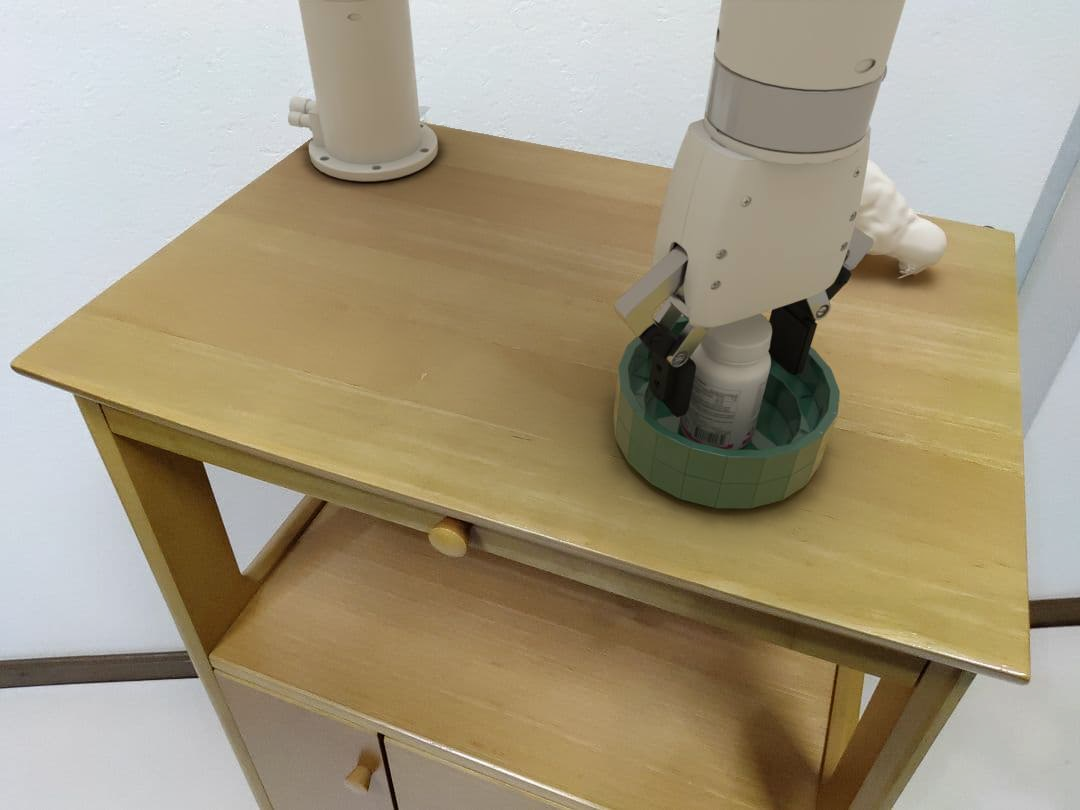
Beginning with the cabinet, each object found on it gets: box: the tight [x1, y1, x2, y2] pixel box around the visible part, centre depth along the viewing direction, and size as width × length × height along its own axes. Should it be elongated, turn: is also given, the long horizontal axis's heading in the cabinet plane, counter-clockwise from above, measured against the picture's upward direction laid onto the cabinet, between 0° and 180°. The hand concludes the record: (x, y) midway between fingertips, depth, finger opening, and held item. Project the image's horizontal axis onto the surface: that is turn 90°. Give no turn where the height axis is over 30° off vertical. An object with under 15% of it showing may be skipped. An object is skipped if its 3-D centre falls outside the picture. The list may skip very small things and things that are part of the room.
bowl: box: [612, 315, 841, 510], centre depth 52 cm, size 13×13×5 cm
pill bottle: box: [680, 313, 772, 450], centre depth 50 cm, size 5×5×8 cm
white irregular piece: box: [855, 159, 947, 279], centre depth 66 cm, size 6×8×12 cm
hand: (726, 379), depth 50 cm, fingers open, 7 cm apart
